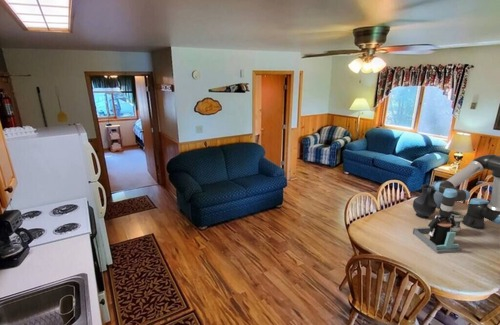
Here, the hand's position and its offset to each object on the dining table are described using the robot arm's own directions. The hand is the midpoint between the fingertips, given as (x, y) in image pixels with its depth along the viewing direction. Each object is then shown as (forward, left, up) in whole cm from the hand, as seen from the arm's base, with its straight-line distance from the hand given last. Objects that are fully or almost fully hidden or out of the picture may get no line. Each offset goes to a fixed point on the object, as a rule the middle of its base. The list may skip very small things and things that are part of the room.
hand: (439, 234), depth 200 cm
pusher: (0, +9, -7) cm, 11 cm away
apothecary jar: (-21, -12, -7) cm, 25 cm away
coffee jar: (0, 0, -7) cm, 7 cm away
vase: (-45, -54, -7) cm, 71 cm away
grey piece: (0, -2, -7) cm, 7 cm away
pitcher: (-16, -37, -7) cm, 41 cm away
